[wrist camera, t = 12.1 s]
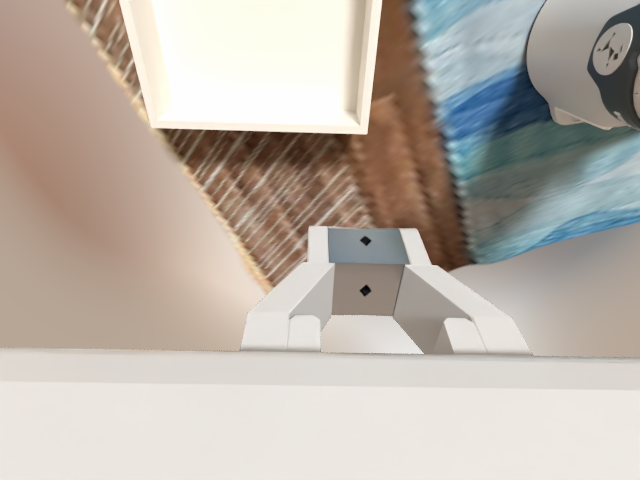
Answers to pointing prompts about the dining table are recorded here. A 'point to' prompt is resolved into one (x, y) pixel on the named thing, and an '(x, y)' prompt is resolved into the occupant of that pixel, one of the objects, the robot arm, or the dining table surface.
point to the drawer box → (255, 63)
